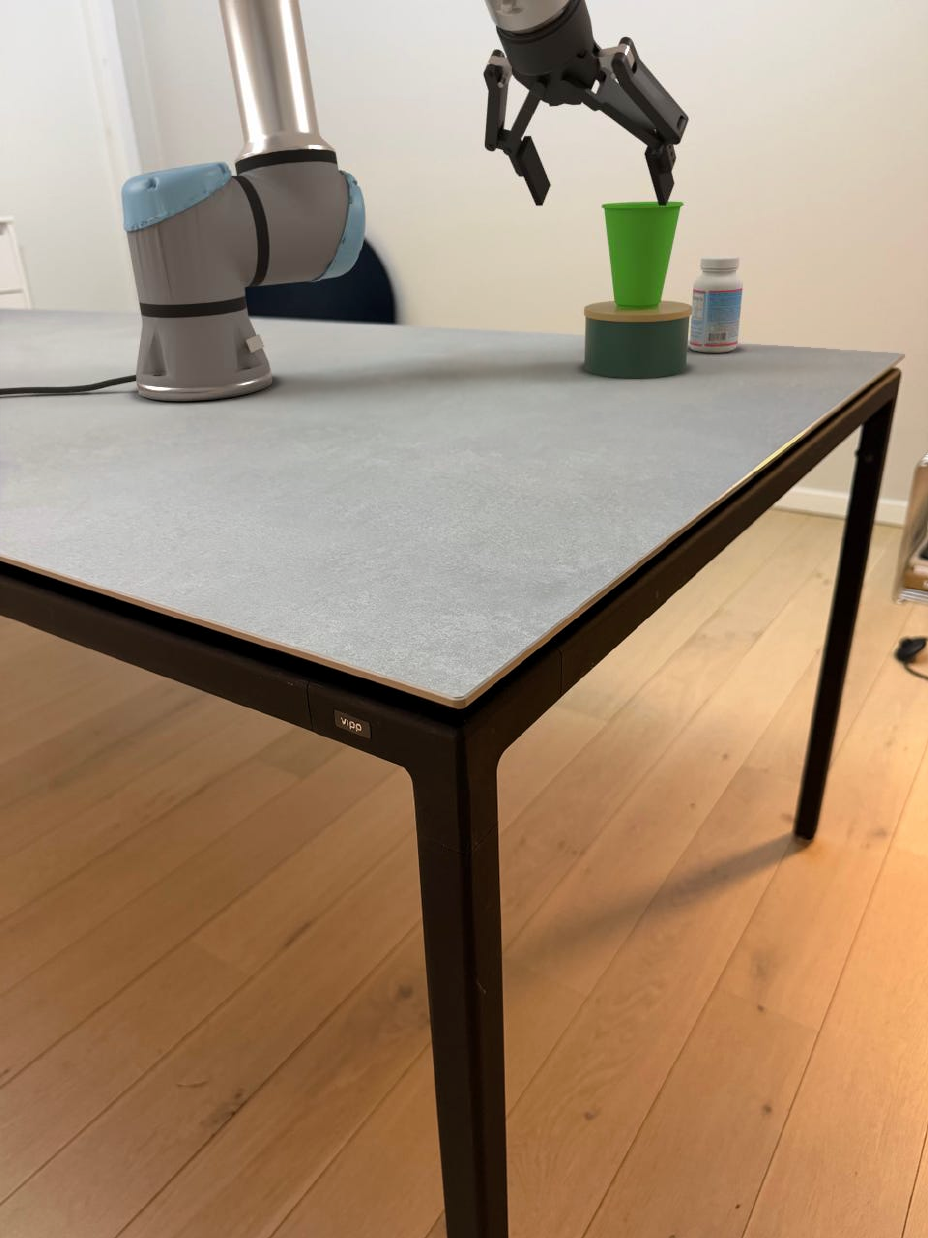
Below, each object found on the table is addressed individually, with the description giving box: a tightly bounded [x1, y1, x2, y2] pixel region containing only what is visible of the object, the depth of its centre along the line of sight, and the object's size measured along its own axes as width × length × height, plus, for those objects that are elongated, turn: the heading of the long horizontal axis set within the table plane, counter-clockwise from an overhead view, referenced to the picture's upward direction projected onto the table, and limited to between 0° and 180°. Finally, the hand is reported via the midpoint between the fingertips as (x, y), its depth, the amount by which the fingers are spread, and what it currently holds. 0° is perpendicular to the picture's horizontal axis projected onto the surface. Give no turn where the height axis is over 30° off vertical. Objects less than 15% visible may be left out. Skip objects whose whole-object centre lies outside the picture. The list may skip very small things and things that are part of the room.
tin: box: [583, 299, 692, 379], centre depth 109 cm, size 12×12×7 cm
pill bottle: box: [689, 254, 744, 354], centre depth 117 cm, size 6×6×11 cm
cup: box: [601, 201, 685, 310], centre depth 105 cm, size 9×9×11 cm
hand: (603, 195), depth 94 cm, fingers open, 13 cm apart
